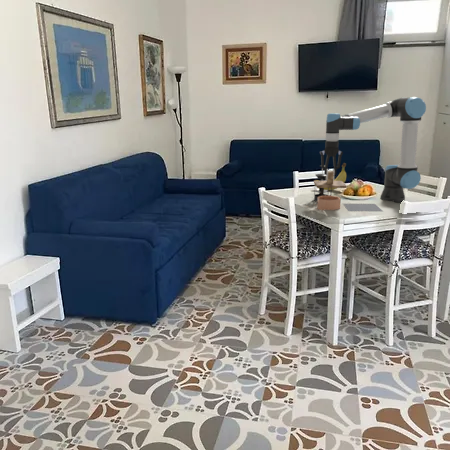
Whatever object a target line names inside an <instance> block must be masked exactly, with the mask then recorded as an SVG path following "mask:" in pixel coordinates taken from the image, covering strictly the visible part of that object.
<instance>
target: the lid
mask: <svg viewBox="0 0 450 450" xmlns="http://www.w3.org/2000/svg"><path fill="white" fill-rule="evenodd" d="M333 176H334V177H335V175H334V172H333V170H328V181H326V180H318V181H315V180H313V184H314V186H315V185H316V186H315V188H317V189H319V188H337V189H347V187H348V186H347V185H346V183H345V182H344V183H343V182H342V181H333Z"/></svg>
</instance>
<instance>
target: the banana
mask: <svg viewBox="0 0 450 450" xmlns="http://www.w3.org/2000/svg"><path fill="white" fill-rule="evenodd" d="M346 166H347V163H345V162H343V163H342V165H341V167H342V168H341V172H339V174H338V176H337V177H336V178H334V181H342V182H343V183H344V184H345V182H346V180H347V172H346V170H345V167H346ZM314 181H319V179H315V180H314ZM314 187H316V185H315V184H314ZM337 189H338V188H332V191H334V190H337ZM324 190H328V188H324ZM329 191H331V188H329Z"/></svg>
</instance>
